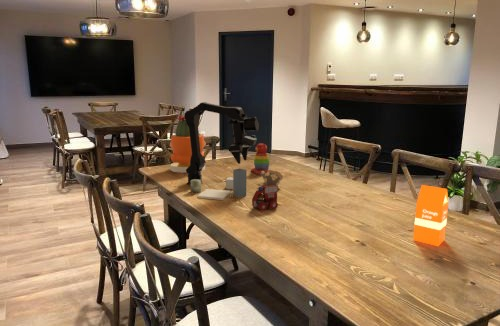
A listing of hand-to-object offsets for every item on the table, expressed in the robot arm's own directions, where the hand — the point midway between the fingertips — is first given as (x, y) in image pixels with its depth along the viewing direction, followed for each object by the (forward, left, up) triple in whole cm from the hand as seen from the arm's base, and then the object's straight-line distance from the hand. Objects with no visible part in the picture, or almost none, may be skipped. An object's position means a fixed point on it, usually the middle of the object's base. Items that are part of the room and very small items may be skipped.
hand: (242, 162), depth 215 cm
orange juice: (+83, -50, -14) cm, 98 cm away
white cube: (-6, -1, -14) cm, 15 cm away
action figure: (+12, +9, -14) cm, 21 cm away
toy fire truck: (+18, -30, -14) cm, 38 cm away
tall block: (+2, -14, -14) cm, 20 cm away
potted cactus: (-43, +31, -14) cm, 55 cm away
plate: (-10, -17, -14) cm, 24 cm away
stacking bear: (+1, +38, -14) cm, 41 cm away
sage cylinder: (-21, -14, -14) cm, 28 cm away
